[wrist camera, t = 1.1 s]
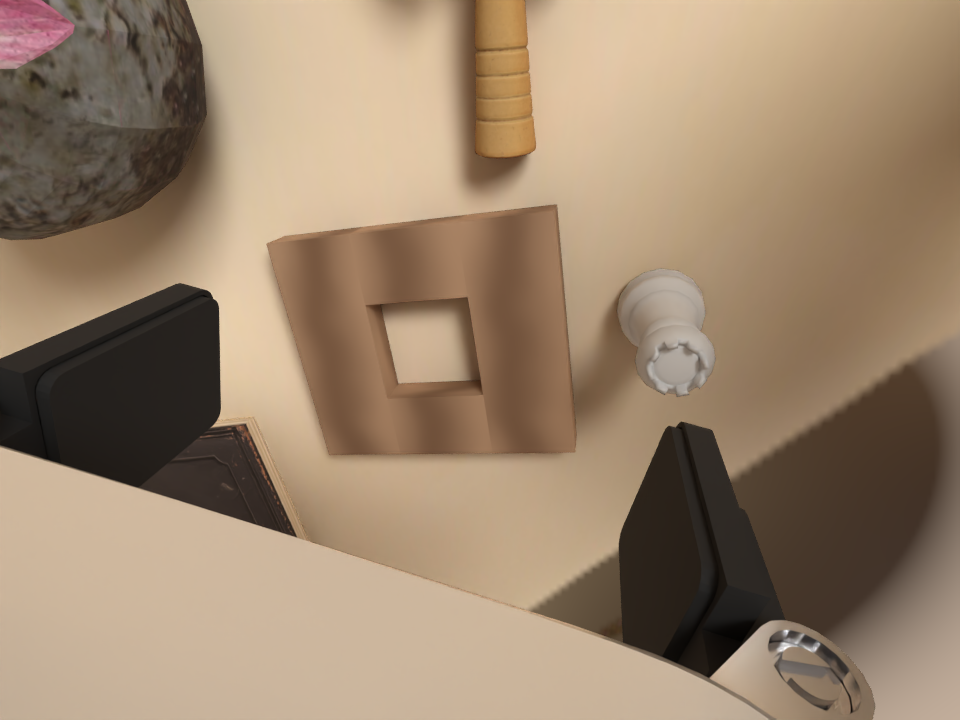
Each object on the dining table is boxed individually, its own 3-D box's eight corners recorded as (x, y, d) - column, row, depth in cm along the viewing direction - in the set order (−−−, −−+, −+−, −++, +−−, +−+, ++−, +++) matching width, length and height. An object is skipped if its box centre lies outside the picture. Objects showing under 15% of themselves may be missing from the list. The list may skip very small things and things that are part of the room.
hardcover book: (261, 409, 39) (243, 426, 37) (361, 638, 48) (350, 662, 45) (89, 430, 43) (64, 446, 41) (209, 637, 52) (193, 659, 50)
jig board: (556, 204, 28) (553, 211, 27) (576, 434, 34) (575, 452, 32) (284, 236, 32) (266, 243, 30) (342, 438, 38) (329, 454, 36)
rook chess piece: (615, 268, 29) (620, 322, 22) (704, 262, 28) (739, 316, 21) (617, 345, 31) (622, 417, 24) (701, 342, 30) (732, 416, 23)
